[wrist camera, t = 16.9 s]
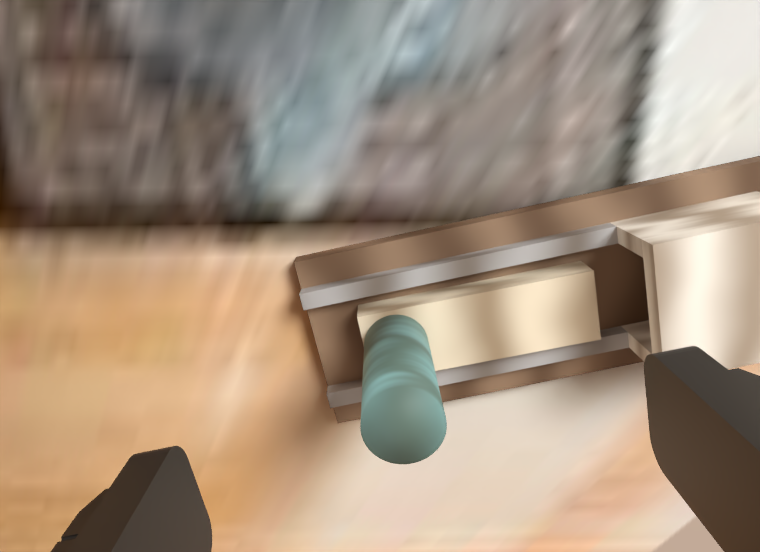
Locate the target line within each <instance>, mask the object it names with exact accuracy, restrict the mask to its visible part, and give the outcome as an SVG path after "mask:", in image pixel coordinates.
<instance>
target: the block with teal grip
mask: <svg viewBox="0 0 760 552" xmlns="http://www.w3.org/2000/svg"><path fill="white" fill-rule="evenodd" d="M357 319H358V324H359V328H360V332H361V337H362V341H363V345H364V358H363V380H362V403H361V435H362V438H363V441H364V443H365V444H366V446H367V447H368V449H369V450H370V451H371V452H372V453H373V454H374V455H376V456H377V457H379V458H380V459H382V460H384V461H387V462H390V463H395V464H411V463H415V462H419V461H421V460H423V459H425V458H427V457H429V456H430V455H432V454H433V453H434V452H435V451H436V450H437V449H438V448H439V446H440V445H441V443H442V442H443V440H444V437H445V434H446V426H447V423H446V417H445V412H444V408H443V404H442V399H441V395H440V390H439V386H438V381H437V377H436V372H435V371H438V370H443V369H449V368H454V367H459V366H464V365H470V364H475V363H480V362H485V361H491V360H496V359H501V358H506V357H512V356H517V355H522V354H527V353H532V352H538V351H543V350H548V349H553V348H559V347H564V346H569V345H574V344H580V343H585V342H590V341H595V340H601V334H600V325H599V315H598V305H597V296H596V286H595V277H594V270H592V269H591V268H590V267H588V266H587V265H586V264H584V263H583V262H582V261H578V262H573V263H567V264H562V265H557V266H552V267H547V268H542V269H537V270H532V271H527V272H522V273H517V274H512V275H507V276H502V277H497V278H492V279H487V280H482V281H477V282H472V283H466V284H461V285H456V286H451V287H446V288H441V289H436V290H431V291H426V292H421V293H416V294H411V295H406V296H401V297H396V298H391V299H386V300H381V301H376V302H371V303H365V304H360V305H358V312H357Z"/></svg>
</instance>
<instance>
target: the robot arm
mask: <svg viewBox="0 0 760 552" xmlns="http://www.w3.org/2000/svg"><path fill="white" fill-rule="evenodd" d="M644 374H645V386H646V397H647V408H648V420H649V431H650V439H651V444H652V448H653V451H654V454H655V457H656V459H657V462H658V464H659V466H660V468H661V470H662V471H663V473H664V474H665V476H666V477H667V479H668V480H669V481H670V482H671V484H672V485H673V486H674V488H675V489H676V490H677V491H678V493H679V494H680V495H681V497H682V498H683V499H684V500H685V502H686V503H687V504H688V506H689V507H690V508H691V509H692V511H693V512H694V513H695V515H696V516H697V517H698V518H699V520H700V521H701V522H702V524H703V525H704V526H705V527H706V529H707V530H708V531H709V533H710V534H711V535H712V536H713V538H714V539H715V540H716V542H717V543H718V544H719V546H720V547H721V548H722V549H723V551H724V552H760V376H758V375H755V374H752V373H750V372H747V371H744V370H741V369H739V368H737V369H732V370H728V369H727V368H725V367H724V366H723V365H721V364H720V363H719V362H717V361H716V360H715V359H713V358H712V357H711V356H710V355H708V354H707V353H706V352H704V351H703V350H702V349H700V348H699V347H697V346H689V347H684V348H679V349H674V350H669V351H664V352H658V353H653V354H649V355H647V356H646V358H645V362H644ZM61 538H62V541H61V542H57V544H56V545H55V547H54V548H53V549H52V551H51V552H211V548H212V529H211V523H210V519H209V516H208V513H207V510H206V508H205V505H204V502H203V499H202V496H201V494H200V491H199V488H198V485H197V482H196V480H195V477H194V474H193V471H192V469H191V466H190V463H189V460H188V458H187V455H186V453H185V452H184V450H183V449H182V448H181V447H179V446H173V447H168V448H163V449H158V450H152V451H147V452H142V453H137V454H134V455H133V456H131V457H130V459H129V460H128V461H127V463H126V464H125V466H124V467H123V469H122V470H121V472H120V473H119V475H118V476H117V478H116V479H115V481H114V482H113V484H112V485H111V487H110V488H109V489H105V490H104V491H103V492H102V493H101V494H99V495H98V496H97V497H96V498H95V499H94V500H93V501H91V502H90V503H89V504H88V505H87V506H86V507H84V508H83V509H82V510H81V511H80V512H79V513H78V514H77V516H76V517H75V519H74V520H73V521H72V523H71V524H70V526H69V527H68V528H67V530H66V531H65V533H64V534H63V535H62V537H61Z"/></svg>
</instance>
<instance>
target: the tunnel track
mask: <svg viewBox="0 0 760 552" xmlns="http://www.w3.org/2000/svg"><path fill="white" fill-rule="evenodd" d="M578 261H582V262H583V263H584V264H586V265H587V266H588V267H590V268H591V269H592V270H594V277H595V286H596V296H597V305H598V315H599V325H600V334H601V340H595V341H590V342H585V343H580V344H574V345H569V346H564V347H559V348H553V349H548V350H543V351H538V352H532V353H527V354H522V355H517V356H512V357H506V358H501V359H496V360H491V361H485V362H480V363H475V364H470V365H464V366H459V367H454V368H449V369H443V370H438V371H435V372H436V377H437V381H438V386H439V390H440V395H441V399H442V402H445V401H450V400H455V399H460V398H465V397H470V396H475V395H480V394H485V393H490V392H495V391H500V390H505V389H510V388H515V387H519V386H524V385H529V384H534V383H539V382H544V381H549V380H554V379H559V378H564V377H569V376H574V375H579V374H584V373H589V372H594V371H599V370H604V369H609V368H614V367H619V366H624V365H629V364H634V363H639V362H645V358H646V356H647V355H649V354H653V353H658V352H664V351H669V350H674V349H679V348H684V347H689V346H697V347H699V348H700V349H702V350H703V351H704V352H706V353H707V354H708V355H710V356H711V357H712V358H713V359H715V360H716V361H717V362H719V363H720V364H721V365H723V366H724V367H725V368H727V369H732V368H737V367H742V366H747V365H752V364H757V363H760V156H757V157H753V158H748V159H744V160H739V161H734V162H730V163H725V164H721V165H716V166H712V167H707V168H702V169H698V170H693V171H689V172H684V173H679V174H675V175H670V176H666V177H661V178H657V179H652V180H647V181H643V182H638V183H634V184H629V185H624V186H620V187H615V188H611V189H606V190H602V191H597V192H592V193H588V194H583V195H579V196H574V197H569V198H565V199H560V200H556V201H551V202H547V203H542V204H537V205H533V206H528V207H524V208H519V209H514V210H510V211H505V212H501V213H496V214H492V215H487V216H482V217H478V218H473V219H469V220H464V221H459V222H455V223H450V224H446V225H441V226H437V227H432V228H427V229H423V230H418V231H414V232H409V233H404V234H400V235H395V236H391V237H386V238H382V239H377V240H372V241H368V242H363V243H359V244H354V245H349V246H345V247H340V248H336V249H331V250H327V251H322V252H317V253H313V254H308V255H304V256H299V257H296V259H295V261H294V265H295V268H296V272H297V276H298V279H299V283H300V286H301V291H300V293H299V296H300V300H301V303H302V307H303V310H307V312H308V316H309V319H310V323H311V327H312V330H313V334H314V338H315V341H316V345H317V348H318V352H319V356H320V359H321V363H322V367H323V370H324V374H325V378H326V381H327V385H328V388H327V397H328V401H329V405H330V408H334V411H335V414H336V418H337V421H338V423H341V422H346V421H351V420H356V419H361V403H362V380H363V358H364V345H363V341H362V337H361V332H360V328H359V324H358V319H357V312H358V305H360V304H365V303H371V302H376V301H381V300H386V299H391V298H396V297H401V296H406V295H411V294H416V293H421V292H426V291H431V290H436V289H441V288H446V287H451V286H456V285H461V284H466V283H472V282H477V281H482V280H487V279H492V278H497V277H502V276H507V275H512V274H517V273H522V272H527V271H532V270H537V269H542V268H547V267H552V266H557V265H562V264H567V263H573V262H578Z"/></svg>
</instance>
